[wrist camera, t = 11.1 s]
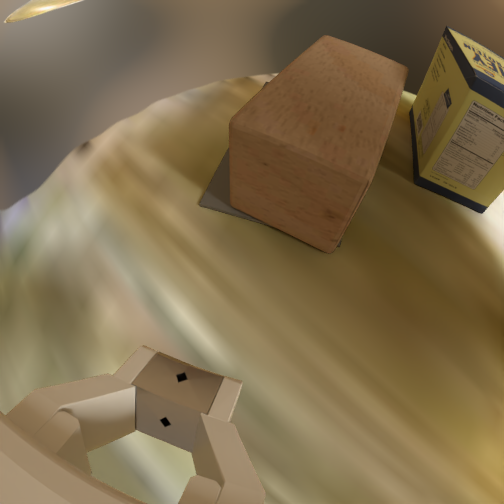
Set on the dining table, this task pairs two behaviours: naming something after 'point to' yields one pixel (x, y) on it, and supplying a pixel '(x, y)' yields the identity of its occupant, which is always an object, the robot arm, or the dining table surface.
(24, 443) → the robot arm
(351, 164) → the wooden block
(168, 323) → the dining table surface
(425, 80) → the protein box
